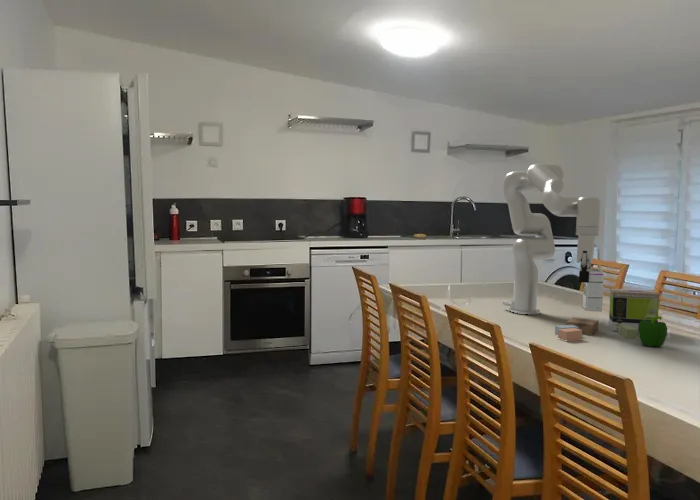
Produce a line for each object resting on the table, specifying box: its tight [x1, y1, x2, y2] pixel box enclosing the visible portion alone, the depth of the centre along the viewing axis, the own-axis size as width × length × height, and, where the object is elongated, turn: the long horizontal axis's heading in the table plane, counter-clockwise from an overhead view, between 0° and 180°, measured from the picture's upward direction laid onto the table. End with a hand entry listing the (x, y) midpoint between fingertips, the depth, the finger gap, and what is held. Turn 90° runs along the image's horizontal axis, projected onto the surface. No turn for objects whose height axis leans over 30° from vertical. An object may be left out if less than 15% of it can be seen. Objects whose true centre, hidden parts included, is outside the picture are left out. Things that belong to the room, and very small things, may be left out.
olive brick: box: [618, 325, 639, 340], centre depth 196 cm, size 7×4×4 cm, turn 174°
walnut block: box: [565, 317, 600, 336], centre depth 204 cm, size 9×9×4 cm
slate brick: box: [554, 324, 579, 336], centre depth 196 cm, size 7×4×4 cm, turn 104°
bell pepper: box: [638, 315, 668, 348], centre depth 183 cm, size 8×8×10 cm
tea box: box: [608, 288, 660, 334], centre depth 205 cm, size 15×10×15 cm
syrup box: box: [581, 268, 605, 313], centre depth 202 cm, size 6×6×14 cm
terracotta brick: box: [557, 328, 583, 341], centre depth 191 cm, size 7×4×4 cm, turn 113°
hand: (584, 280), depth 202 cm, fingers closed on syrup box, 6 cm apart
